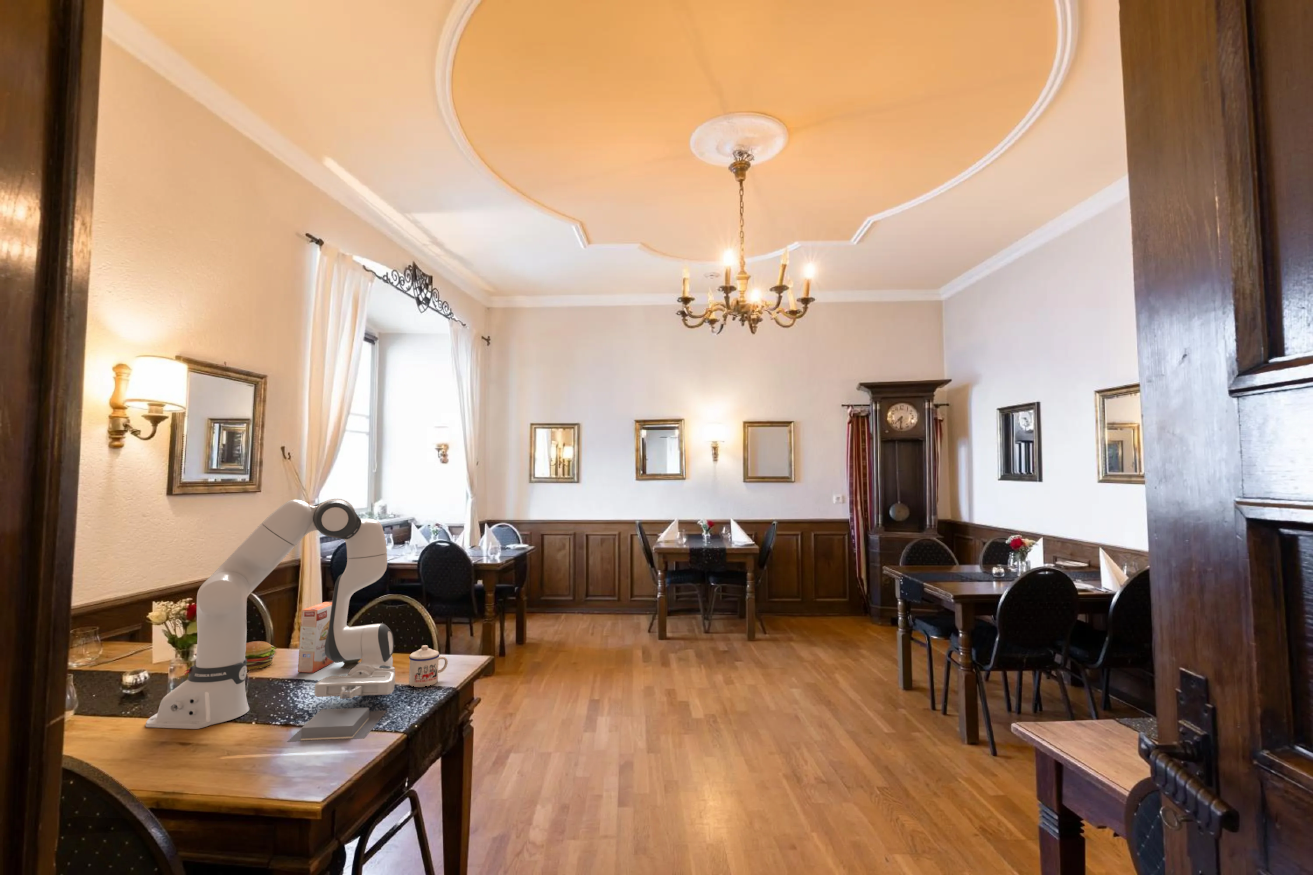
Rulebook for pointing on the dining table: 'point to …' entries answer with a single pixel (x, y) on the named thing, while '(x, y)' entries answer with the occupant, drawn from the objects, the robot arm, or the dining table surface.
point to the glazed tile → (335, 724)
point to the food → (258, 654)
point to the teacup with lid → (424, 667)
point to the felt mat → (361, 734)
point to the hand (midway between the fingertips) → (345, 695)
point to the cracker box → (314, 638)
